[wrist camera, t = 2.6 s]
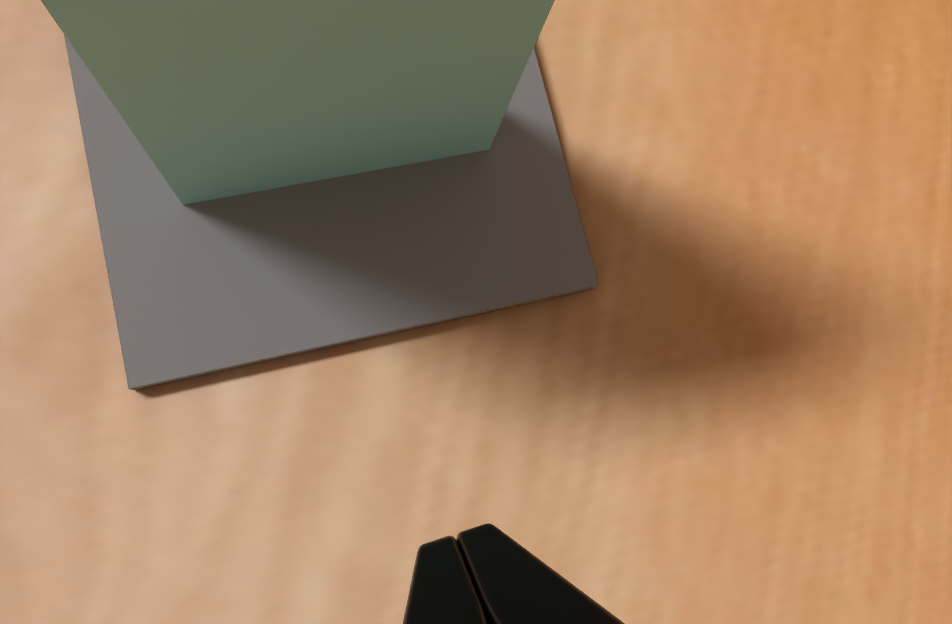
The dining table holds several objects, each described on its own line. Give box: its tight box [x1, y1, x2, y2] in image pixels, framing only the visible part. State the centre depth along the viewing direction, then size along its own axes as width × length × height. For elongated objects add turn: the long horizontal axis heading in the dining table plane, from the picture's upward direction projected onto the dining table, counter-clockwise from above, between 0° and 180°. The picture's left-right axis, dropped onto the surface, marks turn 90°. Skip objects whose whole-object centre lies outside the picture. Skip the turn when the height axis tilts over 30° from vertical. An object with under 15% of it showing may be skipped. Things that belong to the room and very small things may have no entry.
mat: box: [64, 34, 598, 390], centre depth 21 cm, size 18×12×1 cm, turn 14°
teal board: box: [41, 0, 554, 205], centre depth 14 cm, size 2×8×12 cm, turn 104°
